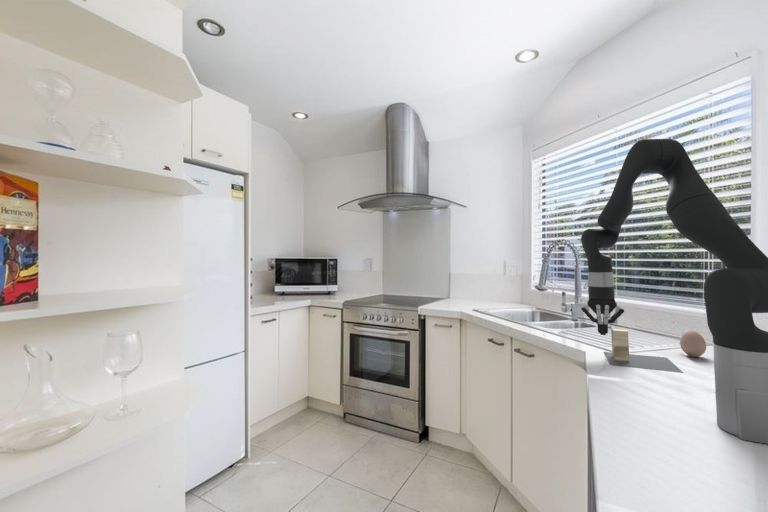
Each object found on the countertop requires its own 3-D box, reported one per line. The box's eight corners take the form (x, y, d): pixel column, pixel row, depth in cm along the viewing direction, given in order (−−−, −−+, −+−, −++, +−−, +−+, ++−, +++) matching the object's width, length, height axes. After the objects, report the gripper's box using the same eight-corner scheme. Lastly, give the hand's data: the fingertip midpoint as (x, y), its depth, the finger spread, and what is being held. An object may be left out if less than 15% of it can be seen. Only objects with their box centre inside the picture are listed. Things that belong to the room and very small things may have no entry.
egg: (712, 359, 106) (710, 332, 107) (688, 359, 108) (687, 332, 108) (697, 354, 113) (696, 328, 113) (675, 353, 114) (674, 328, 114)
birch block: (629, 362, 104) (628, 331, 104) (614, 360, 106) (613, 330, 106) (626, 357, 109) (625, 328, 109) (612, 356, 111) (611, 327, 111)
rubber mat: (683, 375, 94) (683, 372, 94) (610, 367, 102) (609, 364, 102) (667, 359, 108) (666, 357, 108) (603, 353, 116) (603, 351, 116)
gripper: (579, 285, 110) (581, 335, 109) (626, 286, 104) (628, 338, 103) (577, 284, 116) (580, 331, 116) (622, 284, 110) (624, 333, 110)
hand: (603, 334), depth 110 cm, fingers closed
